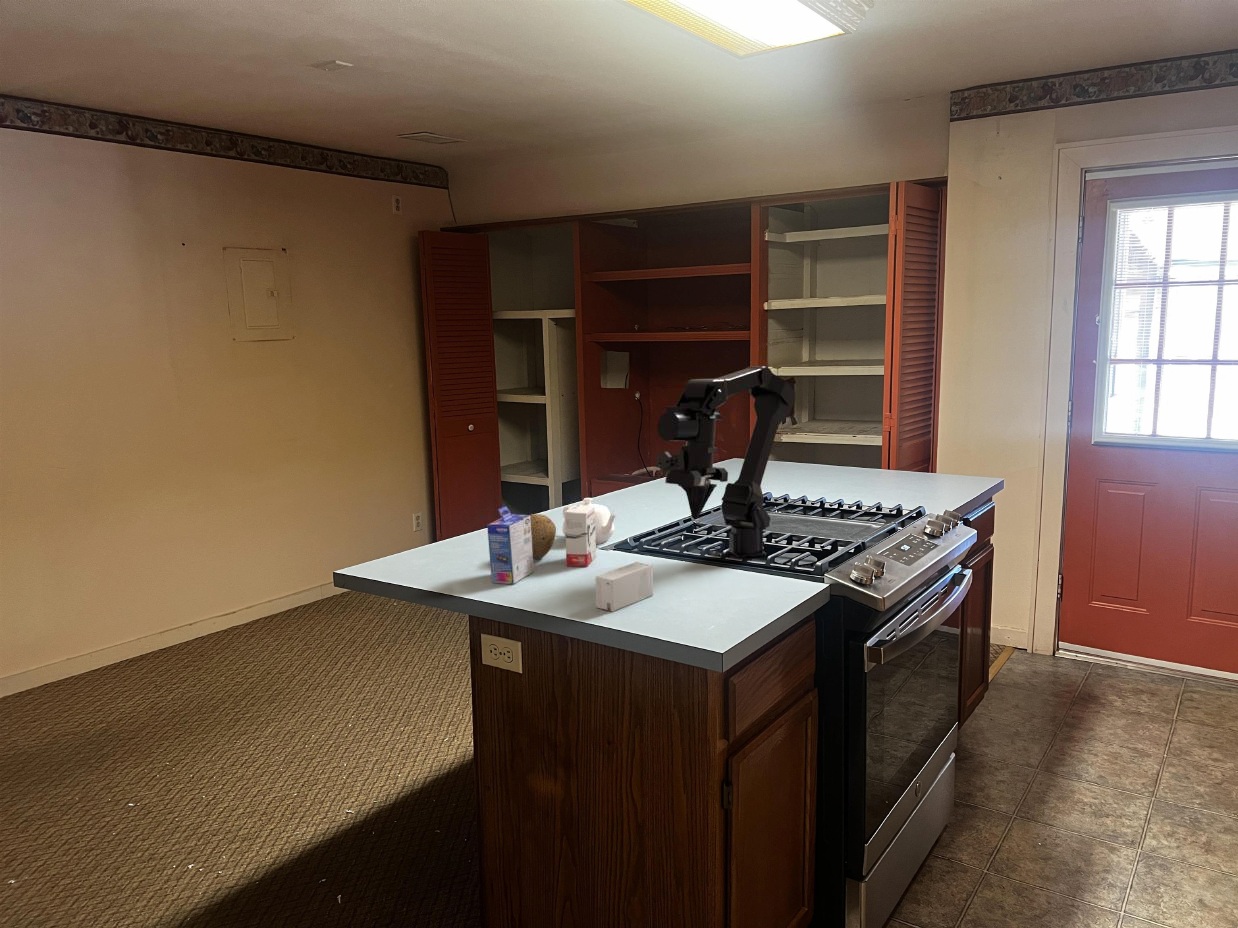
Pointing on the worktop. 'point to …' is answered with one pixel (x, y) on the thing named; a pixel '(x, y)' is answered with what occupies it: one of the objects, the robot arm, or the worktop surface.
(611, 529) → the teapot
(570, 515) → the ink box
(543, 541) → the natural sponge
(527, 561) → the ink cartridge box
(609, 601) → the skincare box
